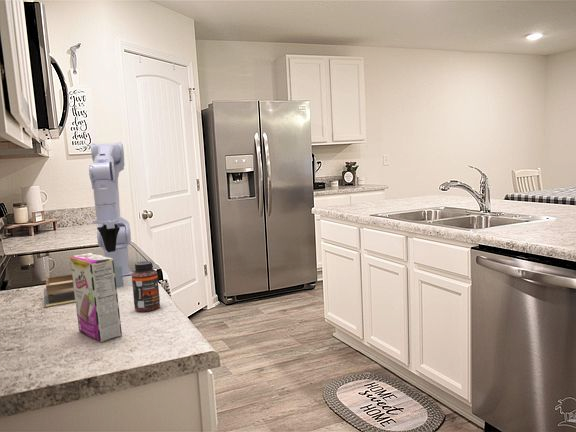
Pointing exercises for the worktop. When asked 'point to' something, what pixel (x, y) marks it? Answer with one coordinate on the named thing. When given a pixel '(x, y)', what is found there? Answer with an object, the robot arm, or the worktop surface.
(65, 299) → the plate
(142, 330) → the worktop surface
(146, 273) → the supplement bottle
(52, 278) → the shallow wooden tray
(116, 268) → the block
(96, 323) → the candy bar box
